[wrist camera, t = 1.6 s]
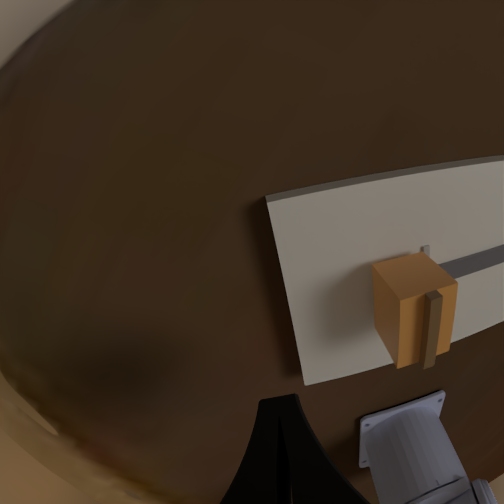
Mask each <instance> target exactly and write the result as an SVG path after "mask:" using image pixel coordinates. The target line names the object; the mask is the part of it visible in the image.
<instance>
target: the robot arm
mask: <svg viewBox="0 0 504 504" xmlns="http://www.w3.org/2000/svg"><path fill="white" fill-rule="evenodd" d="M444 398H445V392H444V391H442V390H441V391H438V392H436V393H433V394H431V395H428V396H425V397H423V398H420V399H417V400H414V401H411V402H409V403H406V404H403V405H400V406H397V407H394V408H390V409H387V410H384V411H381V412H377V413H374V414H371V415H367V416H364V417H363V418H362V419H361V420H360V448H359V467H360V468H364V467H368V466H369V467H370V470H371V474H372V477H373V481H374V485H375V488H376V492H377V495H378V499H379V503H380V504H498V503H497V501H496V499H495V496H494V494H493V492H492V490H491V488H490V486H489V484H488V482H487V480H480V479H479V478H478V479H476V480H474V481H473V482H471V481H470V480H469V479H468V477H467V475H466V473H465V471H464V469H463V467H462V464H461V462H460V460H459V458H458V456H457V454H456V452H455V450H454V448H453V446H452V444H451V442H450V440H449V438H448V436H447V434H446V432H445V430H444V428H443V426H442V424H441V422H440V420H439V415H440V412H441V408H442V405H443V401H444ZM291 484H292V498H293V504H370V503H369V502H368V501H367V500H366V499H365V498H364V497H363V496H362V495H361V494H360V493H359V492H358V491H357V490H356V489H355V488H354V487H353V486H352V485H351V484H350V482H349V481H348V480H347V479H346V478H345V477H344V475H343V474H342V473H341V472H340V471H339V469H338V468H337V467H336V466H335V464H334V463H333V462H332V460H331V459H330V457H329V456H328V455H327V453H326V452H325V450H324V449H323V447H322V446H321V444H320V442H319V441H318V439H317V437H316V436H315V434H314V432H313V430H312V429H311V427H310V425H309V423H308V421H307V419H306V417H305V414H304V412H303V410H302V407H301V404H300V401H299V396H298V395H297V394H289V395H284V396H279V397H273V398H268V399H262V400H260V401H259V405H258V411H257V416H256V420H255V424H254V428H253V432H252V435H251V438H250V441H249V444H248V447H247V450H246V452H245V455H244V457H243V460H242V462H241V464H240V467H239V469H238V471H237V473H236V475H235V477H234V479H233V481H232V483H231V485H230V487H229V489H228V491H227V492H226V494H225V496H224V497H223V499H222V501H221V502H220V504H291Z"/></svg>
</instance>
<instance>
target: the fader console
mask: <svg viewBox="0 0 504 504" xmlns="http://www.w3.org/2000/svg"><path fill="white" fill-rule="evenodd" d="M265 197H266V202H267V206H268V211H269V215H270V219H271V224H272V228H273V233H274V238H275V242H276V247H277V251H278V256H279V261H280V265H281V270H282V275H283V279H284V284H285V289H286V294H287V298H288V303H289V308H290V313H291V318H292V323H293V328H294V333H295V338H296V343H297V348H298V353H299V358H300V363H301V368H302V373H303V378H304V383H305V385H310V384H315V383H319V382H323V381H328V380H332V379H336V378H340V377H344V376H348V375H352V374H356V373H359V372H363V371H367V370H370V369H374V368H377V367H381V366H384V365H387V364H391V363H394V362H393V360H392V358H391V356H390V354H389V352H388V351H387V349H386V347H385V345H384V343H383V341H382V340H381V338H380V336H379V334H378V332H377V330H376V329H375V322H374V294H373V276H372V264H375V263H379V262H383V261H387V260H391V259H395V258H399V257H403V256H407V255H411V254H414V253H418V252H422V251H423V252H424V253H425V254H426V255H427V256H429V257H430V258H431V259H432V260H433V261H434V262H436V263H437V264H438V265H439V266H440V267H441V268H442V269H444V270H445V271H446V272H447V273H448V274H449V275H450V276H451V277H452V278H454V279H455V280H456V281H457V282H458V290H457V300H456V308H455V316H454V323H453V330H452V336H451V342H450V343H452V342H454V341H457V340H459V339H462V338H464V337H467V336H469V335H472V334H474V333H476V332H479V331H481V330H484V329H486V328H488V327H490V326H493V325H495V324H497V323H499V322H501V321H504V155H499V156H490V157H482V158H475V159H467V160H460V161H452V162H445V163H439V164H432V165H425V166H419V167H413V168H407V169H400V170H395V171H389V172H383V173H377V174H371V175H366V176H360V177H355V178H350V179H344V180H339V181H334V182H329V183H324V184H319V185H314V186H309V187H304V188H299V189H294V190H290V191H285V192H280V193H276V194H271V195H267V196H265Z"/></svg>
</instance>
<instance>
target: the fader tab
mask: <svg viewBox="0 0 504 504" xmlns="http://www.w3.org/2000/svg"><path fill="white" fill-rule="evenodd" d="M372 276H373V294H374V322H375V329H376V330H377V332H378V334H379V336H380V338H381V340H382V341H383V343H384V345H385V347H386V349H387V351H388V352H389V354H390V356H391V358H392V360H393V362H394V364H395V366H396V368H397V369H398V368H401V367H404V366H407V365H410V364H413V363H416V362H419V363H420V364H421V366H422V368H423V369H426V368H429V367H432V366H434V363H435V357H436V355H439V354H441V353H444V352H447V351H449V347H450V342H451V336H452V330H453V323H454V316H455V308H456V300H457V290H458V282H457V281H456V280H455V279H454V278H452V277H451V276H450V275H449V274H448V273H447V272H446V271H445V270H444V269H442V268H441V267H440V266H439V265H438V264H437V263H436V262H434V261H433V260H432V259H431V258H430V257H429V256H427V255H426V254H425V253H424V252H423V251H422V252H418V253H414V254H411V255H407V256H403V257H399V258H395V259H391V260H387V261H383V262H379V263H375V264H372Z"/></svg>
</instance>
